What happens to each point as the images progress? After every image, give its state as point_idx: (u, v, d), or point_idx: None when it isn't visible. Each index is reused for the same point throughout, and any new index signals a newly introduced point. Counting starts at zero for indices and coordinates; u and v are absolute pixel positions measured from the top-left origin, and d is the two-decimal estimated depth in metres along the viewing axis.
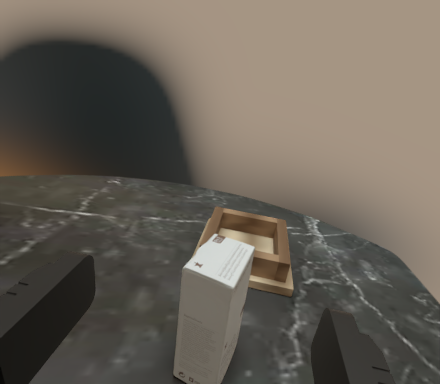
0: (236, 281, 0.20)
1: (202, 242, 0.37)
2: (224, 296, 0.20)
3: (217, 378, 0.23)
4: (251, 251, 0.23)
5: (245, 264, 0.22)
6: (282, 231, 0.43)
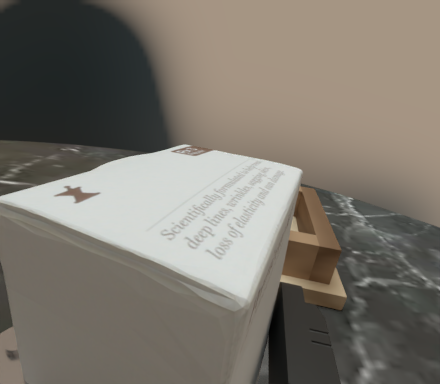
0: (260, 265, 0.04)
1: None
2: (192, 353, 0.03)
3: None
4: (296, 176, 0.07)
5: (286, 204, 0.05)
6: (314, 202, 0.26)
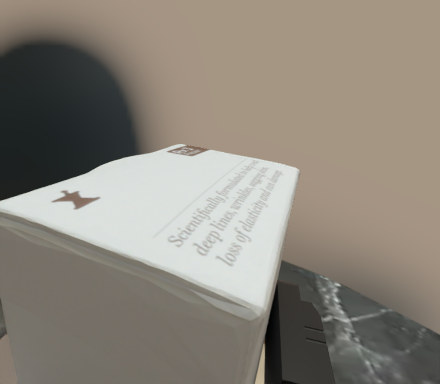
0: (271, 270, 0.03)
1: None
2: (204, 363, 0.03)
3: None
4: (294, 176, 0.07)
5: (288, 205, 0.05)
6: None
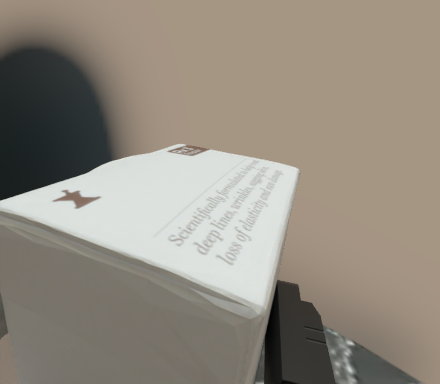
0: (271, 269, 0.04)
1: None
2: (205, 361, 0.03)
3: None
4: (294, 176, 0.07)
5: (288, 205, 0.05)
6: None
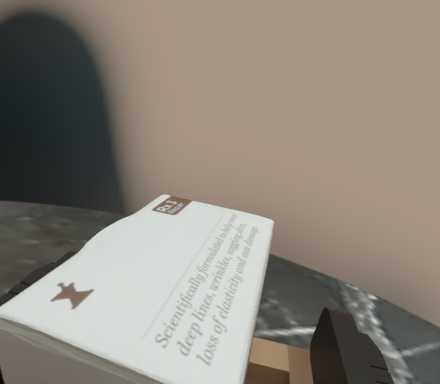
0: (242, 362, 0.04)
1: None
2: None
3: None
4: (268, 232, 0.08)
5: (262, 274, 0.06)
6: None
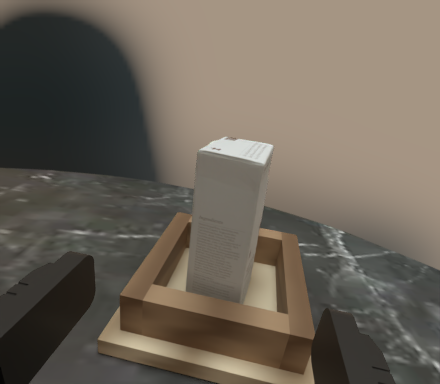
0: (265, 161, 0.16)
1: (128, 288, 0.18)
2: (252, 178, 0.16)
3: (240, 296, 0.19)
4: (271, 147, 0.20)
5: (269, 153, 0.18)
6: (293, 257, 0.23)
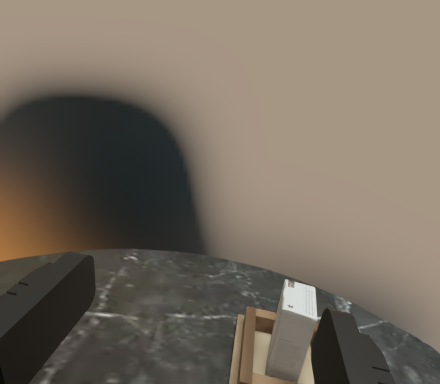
0: (316, 315, 0.32)
1: (241, 376, 0.33)
2: (310, 325, 0.32)
3: (298, 377, 0.35)
4: (314, 291, 0.36)
5: (315, 302, 0.34)
6: None
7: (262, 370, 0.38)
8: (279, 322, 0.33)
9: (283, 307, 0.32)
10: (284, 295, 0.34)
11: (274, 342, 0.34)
